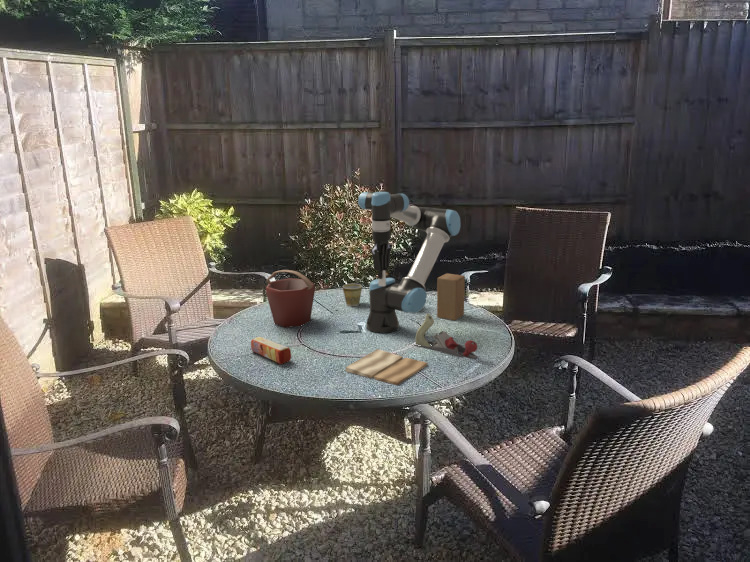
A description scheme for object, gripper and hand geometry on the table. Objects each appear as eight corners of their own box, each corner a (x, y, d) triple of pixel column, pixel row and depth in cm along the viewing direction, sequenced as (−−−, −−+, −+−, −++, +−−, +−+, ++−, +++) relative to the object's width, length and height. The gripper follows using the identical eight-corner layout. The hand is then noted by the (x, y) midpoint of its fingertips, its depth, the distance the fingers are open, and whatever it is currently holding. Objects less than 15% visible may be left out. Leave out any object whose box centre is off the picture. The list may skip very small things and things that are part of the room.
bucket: (258, 321, 304) (255, 271, 297) (294, 310, 319) (291, 262, 313) (291, 332, 288) (288, 280, 281) (327, 320, 303) (325, 270, 297)
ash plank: (345, 371, 242) (345, 367, 241) (377, 353, 260) (377, 349, 259) (373, 381, 235) (373, 376, 235) (404, 361, 253) (404, 357, 252)
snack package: (249, 352, 266) (248, 337, 264) (263, 348, 270) (262, 333, 268) (279, 366, 251) (278, 350, 249) (292, 361, 255) (291, 346, 253)
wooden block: (464, 315, 308) (465, 275, 303) (455, 320, 300) (456, 280, 295) (445, 311, 313) (446, 273, 308) (436, 317, 305) (437, 277, 300)
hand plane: (419, 341, 275) (419, 308, 271) (480, 358, 256) (481, 323, 252) (409, 346, 270) (409, 312, 266) (471, 363, 251) (472, 328, 247)
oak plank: (374, 381, 235) (374, 376, 234) (405, 362, 252) (405, 357, 252) (397, 387, 229) (397, 382, 229) (427, 367, 247) (427, 362, 246)
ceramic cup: (355, 308, 321) (354, 289, 318) (339, 305, 326) (338, 287, 324) (369, 302, 331) (368, 283, 329) (353, 299, 337) (353, 281, 334)
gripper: (380, 233, 251) (380, 290, 257) (397, 228, 261) (397, 283, 268) (364, 231, 255) (365, 288, 261) (382, 226, 266) (383, 280, 272)
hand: (382, 285), depth 265 cm, fingers closed
